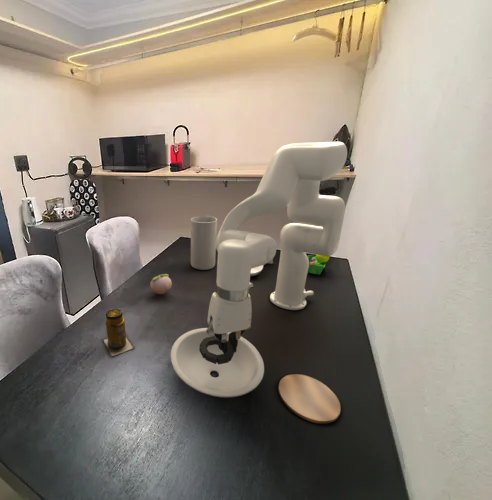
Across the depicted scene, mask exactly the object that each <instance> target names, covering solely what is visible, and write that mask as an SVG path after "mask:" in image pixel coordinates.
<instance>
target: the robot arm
mask: <svg viewBox="0 0 492 500" xmlns="http://www.w3.org/2000/svg"><path fill="white" fill-rule="evenodd" d="M347 158H348V147H347V146H346V144H345V143H344V142H342V141H324V142H323V141H322V142H299V143H298V142H296V143H289V144H286V145H285V144H284V145H283V146H281V147H280V148H279V149H277V150H276V151H275V152H273V154H272V156H271V158H270V161H269V162H268V165H267V167H266V169H265V171H264V173H263V176H262V177H261V180H260V182H259V184H258V186H257V189H256V191H255V192H254V193H253V194H252V195H250V196H248V197H246V198H245V199H244V200H242V201H240V203H238V204H237V205H236V206H234V207H233V208H232V209H231V210H230V211H229V212H228V213H227V215H226V216H225V218H224V220H223V221H222V223H221V226H220V228H219V231H218V233H217V234H216V252H217V263H216V280H215V281H216V283H215V291H214V292H213V293H212V294H211V296H210V297H211V298H210V300H209V305H208V312H207V324H208V326H207V327H206V328H207V330H206V333H207V334H208V336H213V337H214V336H215V337H216V338H218V339H219V342H218V347H219V349H220V350H222V352H223V353H224V354H225V353H226V351H227V347H228V342H227V341H226V333H229V332H231V333H229V339H228V341H229V342H230V344H231V345H232V346H233V348H234V352H236V349H237V345H238V340H239V339H240V337H242V335H243V334H244V333H245V332H246V331H248V330H249V329H251V328H252V327H253V326H252V317H253V309H252V298H251V295H250V290H251V289H253V288H254V284H253V282H251V276H250V274H251V269H252V268H255V267H258V266H262V265H266V264H269V263H268V262H269V261H270V260H272V259H274V257H275V256H276V253H277V243H276V240H275V239H274V238H273V237H272V236H269V235H267V234H262V233H257V232H252V231H247V230H242V229H240V228H241V226H242V225H243V224H244V223H246V222H247V221H249V220H251V219H253V218H256V217H259V216H264V215H268V214H271V213H276V212H279V211H281V210H283V209H285V208H286V215H287V218H288V219H289V220H290V221H292V222H291V223H286V224H284V226H283V227H282V229H280V234H279V241H280V254H279V262H278V268H277V275H276V283H275V289H274V291H273V292H271V293H270V294H269V300H270V302H271V303H272V304H273V305H275V306H277V307H279V308H281V309H285V310H288V311H289V310H290V311H299V310H302V309H304V308H305V307H306V306H307V300H306V298H307V297H311V296H314V294H315V293H314V291H313V290H307V291H306V288H305V287H306V282H307V278H308V277H307V276H308V267H309V260H308V255H307V253H308V254H313V255H316V254H318V255H323V256H330V257H331V256H332V255H334V254H335V253H336V252H337V251H338V248H339V245H340V240H341V234H342V229H343V223H344V219H345V212H346V203H345V201H344V199H343V198H341V196H336V195H326V194H320V186H321V182H323V181H327V180H329V179H331V178H332V177H334V176H336V175H337V174H338V173H339V172H341V170H342V169H343V168H344V166H345V164H346V162H347Z"/></svg>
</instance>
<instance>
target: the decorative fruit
mask: <svg viewBox="0 0 492 500" xmlns="http://www.w3.org/2000/svg"><path fill="white" fill-rule="evenodd" d="M172 285H173V283H172V279H171V278H170V274H168V273H160V274H158V275H157V276H154V277H153V278H152V279H151V281H150V289H151V290H152V292H154V293H155V294H156V295H164V294H167V293H169V292H170V290H171V289H172Z"/></svg>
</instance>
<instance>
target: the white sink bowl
mask: <svg viewBox="0 0 492 500" xmlns="http://www.w3.org/2000/svg"><path fill="white" fill-rule="evenodd" d="M207 328H208V327H201V328H196V329H195V328H194V329H192V330H189V331H186V332H185V333H183V334H181V335H180V336H179V337H178V338H177V339H176V340H175V342H174V343H173V345H172V347H171V350H170V362H171V365H172V368H173V370H174V371H175V374H176V376H178V377H179V378H180V380H181V381H182V382H184V383H185V384H186V385H188V386H189V387H190V388H192V389H193V390H195V391H197V392H199V393H202V394H205V395H208V396H212V397H218V398H235V397H240V396H243V395H246V394H248V393H251V392H252V391H254V390H255V389H257V387H258V386H260V383H261V382H262V380H263V378H264V375H265V364H264V360H263V357H262V356H261V354H260V352H259V351H258V349H257V348H256V347H255V346H254V345H253V344H252V343H251V342H250V341H249V340H247V339H246V338H244V337H243V336H241V337H240V339H239V340H238V345H237V349H236V352H234V355H233V357H232V359H231V361H229V363H224V364H219V365H218V363H216V364H214V363H211V362H209V361H207V360H205V358H203V357H202V355H201V353H200V351H199V348H200V343H201V342H202V340H203V339H205V338H207V337H212V336H208V334H207V333H206V330H207ZM229 333H231V332H229ZM229 333H226V340H227V341H228V339H229ZM207 349H208V351H209V352H211V353H213V354H216V355H220V354H224V353H223V352H222V350H220V349H219V347H218V345H216V344H215V345H210V346H208V347H207ZM211 372H216V373H217V374H218V376H217V377H214V376H212V375H211Z"/></svg>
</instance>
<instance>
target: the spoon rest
mask: <svg viewBox="0 0 492 500" xmlns="http://www.w3.org/2000/svg"><path fill="white" fill-rule="evenodd" d="M273 259H274V258H273ZM273 259H272V260H270V261H269V262H268V263H267V264H270V265H273V264H274V260H273ZM264 265H265V264H264ZM264 265H262V266H258V267H255V268H252V269H251V274H250V277H255V276H257V275H259V274H261V272H262V271H263V269H264Z"/></svg>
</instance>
